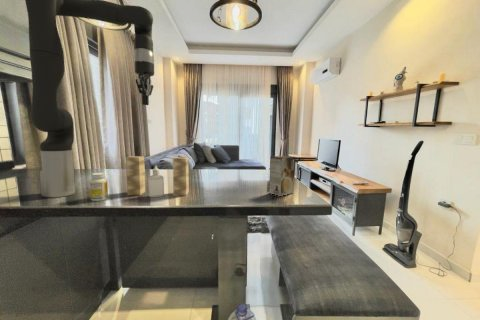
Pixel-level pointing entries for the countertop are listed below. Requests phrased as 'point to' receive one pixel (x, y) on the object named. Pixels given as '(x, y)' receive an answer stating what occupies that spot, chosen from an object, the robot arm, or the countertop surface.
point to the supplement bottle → (98, 187)
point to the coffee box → (282, 175)
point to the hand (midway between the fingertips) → (145, 104)
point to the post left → (135, 175)
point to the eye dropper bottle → (156, 184)
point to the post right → (180, 176)
